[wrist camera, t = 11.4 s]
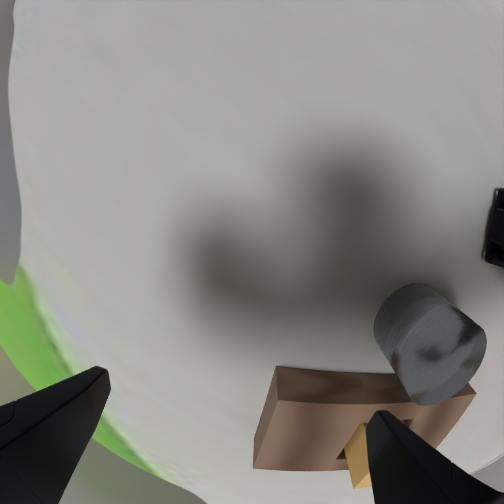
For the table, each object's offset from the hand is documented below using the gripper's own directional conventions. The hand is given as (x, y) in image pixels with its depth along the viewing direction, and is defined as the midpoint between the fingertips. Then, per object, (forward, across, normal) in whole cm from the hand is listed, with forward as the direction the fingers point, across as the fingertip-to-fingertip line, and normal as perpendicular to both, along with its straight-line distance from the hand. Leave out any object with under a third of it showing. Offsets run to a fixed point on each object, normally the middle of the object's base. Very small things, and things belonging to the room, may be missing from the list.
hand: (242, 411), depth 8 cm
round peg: (+12, -13, +2) cm, 18 cm away
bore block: (+12, -13, +12) cm, 21 cm away
